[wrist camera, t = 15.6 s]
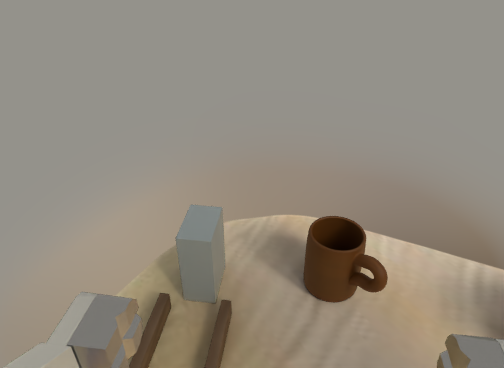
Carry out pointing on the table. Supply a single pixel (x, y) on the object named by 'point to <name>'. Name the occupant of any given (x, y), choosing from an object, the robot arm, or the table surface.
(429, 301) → the table surface
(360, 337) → the table surface
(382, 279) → the mug
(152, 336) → the walnut cradle
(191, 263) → the tall grey rectangular block
